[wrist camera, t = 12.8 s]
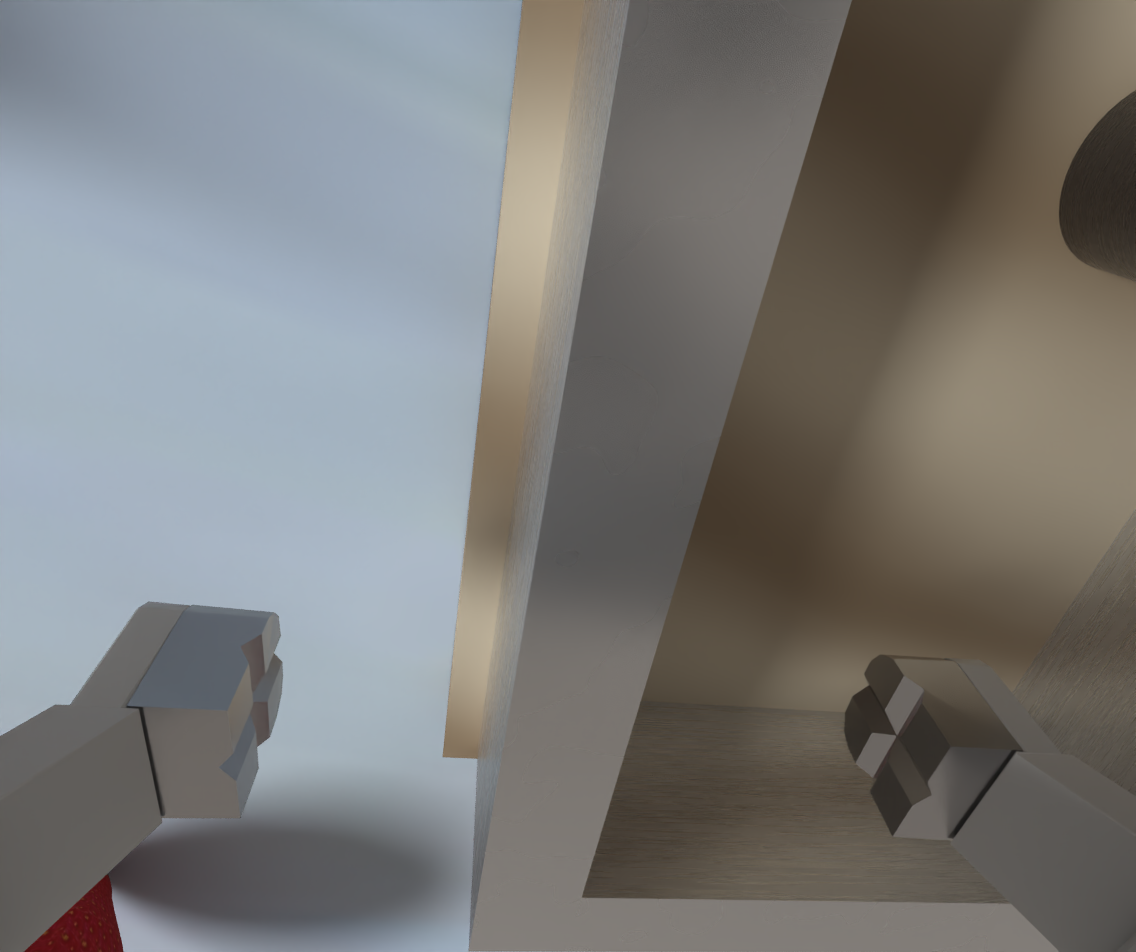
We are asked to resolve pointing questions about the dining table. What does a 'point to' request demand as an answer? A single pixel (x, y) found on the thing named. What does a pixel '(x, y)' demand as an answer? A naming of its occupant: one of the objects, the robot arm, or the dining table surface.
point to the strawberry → (84, 925)
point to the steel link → (660, 538)
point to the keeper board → (876, 361)
